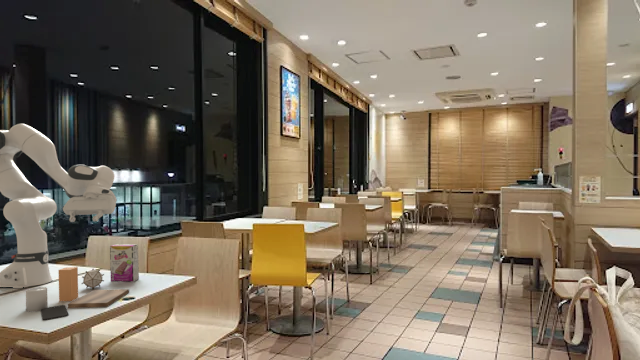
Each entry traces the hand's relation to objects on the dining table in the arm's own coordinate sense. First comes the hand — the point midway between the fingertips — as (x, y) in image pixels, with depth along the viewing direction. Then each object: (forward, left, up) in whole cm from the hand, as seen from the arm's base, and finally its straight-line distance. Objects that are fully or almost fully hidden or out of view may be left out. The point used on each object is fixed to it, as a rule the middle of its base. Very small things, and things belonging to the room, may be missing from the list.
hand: (83, 220), depth 169 cm
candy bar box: (+9, +17, -30) cm, 35 cm away
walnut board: (+13, -13, -29) cm, 35 cm away
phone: (+4, -27, -30) cm, 41 cm away
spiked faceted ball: (+1, +5, -30) cm, 30 cm away
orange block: (0, -11, -29) cm, 31 cm away
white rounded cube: (-5, -22, -29) cm, 37 cm away
